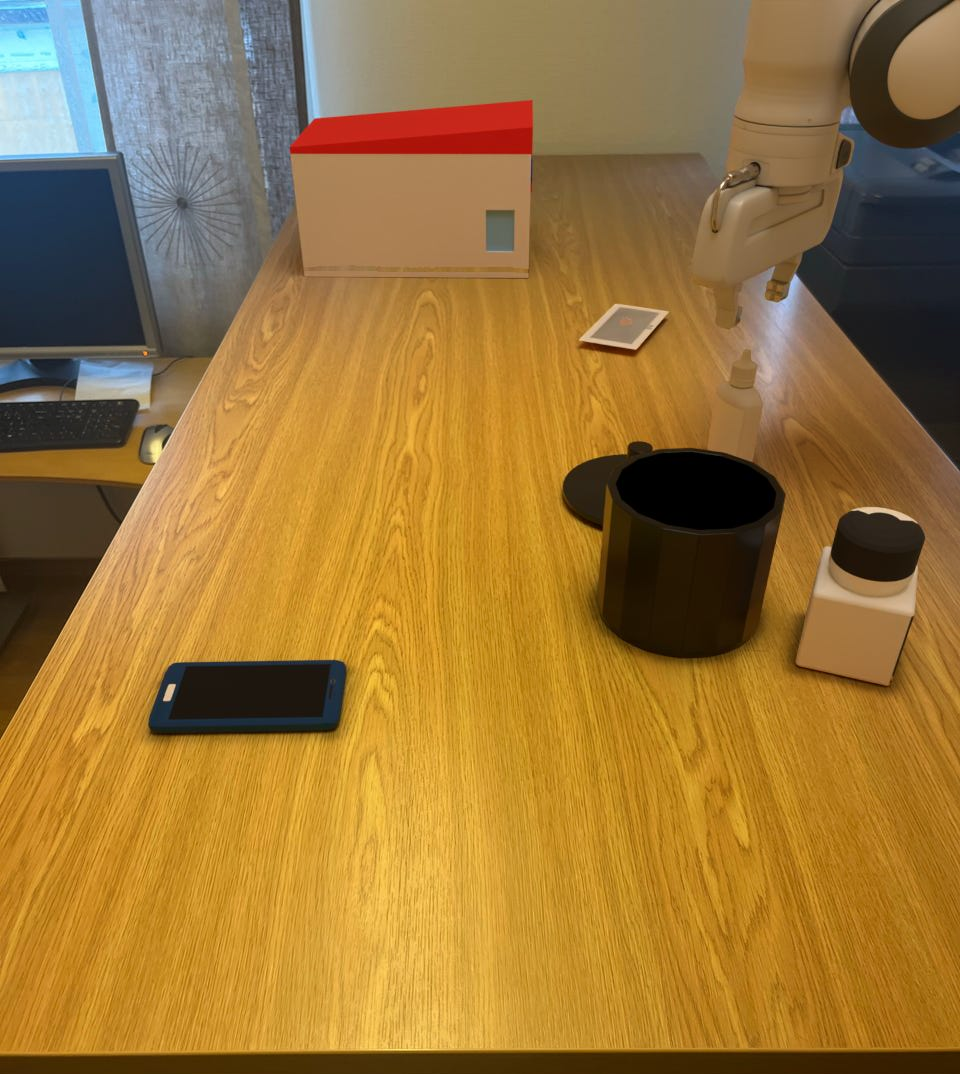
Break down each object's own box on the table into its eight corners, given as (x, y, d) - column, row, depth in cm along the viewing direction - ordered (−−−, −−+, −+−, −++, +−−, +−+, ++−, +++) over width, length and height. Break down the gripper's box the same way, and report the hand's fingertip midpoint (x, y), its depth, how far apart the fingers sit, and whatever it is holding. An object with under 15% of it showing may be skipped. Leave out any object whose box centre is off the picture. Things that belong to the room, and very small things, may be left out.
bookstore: (530, 278, 150) (534, 127, 137) (304, 276, 151) (287, 126, 138) (530, 238, 166) (534, 99, 153) (326, 237, 167) (312, 99, 154)
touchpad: (577, 348, 128) (578, 332, 126) (614, 311, 138) (615, 295, 137) (635, 357, 125) (636, 341, 124) (668, 319, 136) (670, 303, 134)
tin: (787, 602, 83) (815, 483, 76) (705, 680, 75) (728, 555, 68) (654, 547, 90) (668, 432, 83) (566, 612, 82) (573, 492, 75)
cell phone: (169, 669, 76) (168, 661, 76) (348, 666, 76) (347, 658, 76) (146, 734, 70) (144, 726, 70) (339, 730, 71) (338, 723, 70)
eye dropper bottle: (709, 472, 101) (727, 360, 94) (705, 447, 105) (722, 339, 98) (752, 474, 101) (773, 362, 93) (746, 449, 105) (766, 340, 98)
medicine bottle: (890, 688, 74) (935, 556, 67) (794, 666, 76) (827, 536, 69) (895, 635, 79) (937, 506, 72) (805, 616, 81) (837, 489, 74)
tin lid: (735, 494, 97) (744, 442, 94) (656, 554, 89) (663, 500, 85) (616, 451, 105) (620, 401, 101) (532, 502, 96) (534, 450, 93)
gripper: (753, 182, 77) (726, 352, 85) (863, 140, 89) (829, 293, 98) (684, 169, 80) (664, 334, 89) (799, 131, 92) (772, 279, 101)
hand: (751, 312), depth 93 cm, fingers open, 8 cm apart
